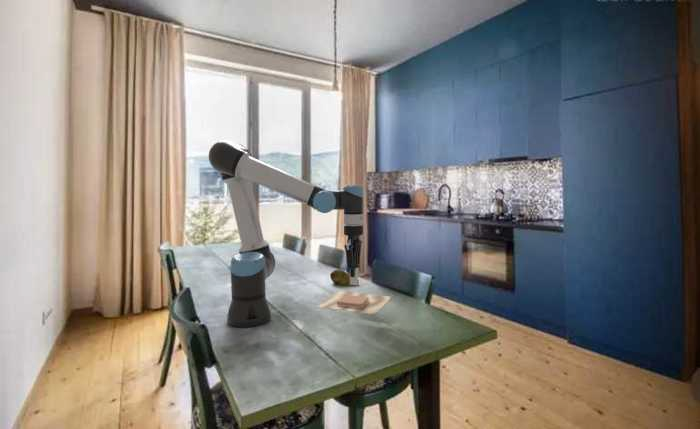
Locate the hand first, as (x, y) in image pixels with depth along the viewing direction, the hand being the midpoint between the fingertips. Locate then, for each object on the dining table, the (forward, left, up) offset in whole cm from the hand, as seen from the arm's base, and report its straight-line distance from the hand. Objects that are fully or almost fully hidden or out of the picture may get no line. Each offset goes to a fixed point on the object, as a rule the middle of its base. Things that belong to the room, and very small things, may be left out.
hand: (353, 284), depth 141 cm
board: (0, +2, -9) cm, 9 cm away
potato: (-14, +24, -9) cm, 29 cm away
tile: (0, +4, -7) cm, 8 cm away
